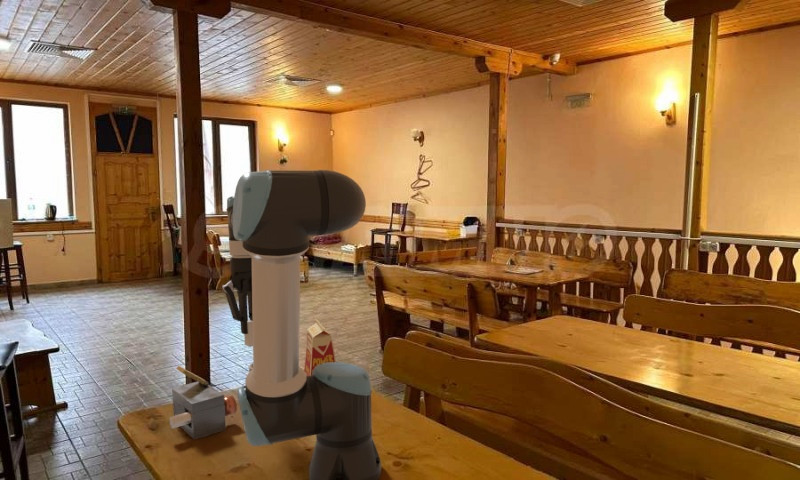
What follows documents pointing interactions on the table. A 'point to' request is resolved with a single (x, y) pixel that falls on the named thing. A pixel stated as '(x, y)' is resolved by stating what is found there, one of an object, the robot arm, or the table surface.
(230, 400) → the pin
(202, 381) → the tan rectangular plate
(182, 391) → the block
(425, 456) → the table surface
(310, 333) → the milk carton
